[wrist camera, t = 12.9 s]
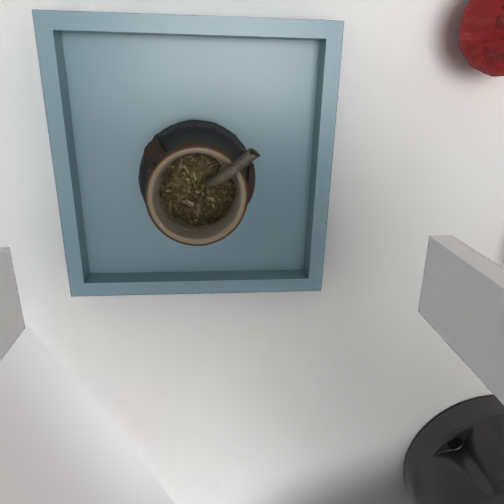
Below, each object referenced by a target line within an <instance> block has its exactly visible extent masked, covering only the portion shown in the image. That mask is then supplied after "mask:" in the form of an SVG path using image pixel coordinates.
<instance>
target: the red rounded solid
mask: <svg viewBox="0 0 504 504" xmlns="http://www.w3.org/2000/svg"><path fill="white" fill-rule="evenodd" d="M459 42H460V49H461V51H462V53H463V55H464V56H465V58H466V60H467V61H468V63H469V64H470V66H471V67H473V68H475V69H477V70H479V71H481V72H483V73H485V74H487V75H490V76H504V0H470V2H469V3H468V5H467V7H466V8H465V10H464V12H463V16H462V20H461V23H460V27H459Z"/></svg>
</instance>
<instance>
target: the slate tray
mask: <svg viewBox="0 0 504 504" xmlns="http://www.w3.org/2000/svg"><path fill="white" fill-rule="evenodd" d="M32 15H33V22H34V30H35V37H36V44H37V51H38V59H39V66H40V73H41V81H42V88H43V95H44V103H45V110H46V117H47V124H48V132H49V139H50V146H51V154H52V161H53V168H54V176H55V183H56V190H57V198H58V205H59V212H60V219H61V227H62V234H63V241H64V249H65V256H66V263H67V271H68V278H69V285H70V293H71V296H114V295H157V294H200V293H243V292H287V291H321V285H322V274H323V262H324V250H325V239H326V227H327V215H328V204H329V192H330V180H331V169H332V157H333V145H334V134H335V122H336V110H337V99H338V87H339V76H340V64H341V52H342V41H343V29H344V21H336V20H308V19H281V18H253V17H225V16H197V15H170V14H142V13H114V12H86V11H59V10H32ZM190 119H191V120H203V121H210V122H214V123H216V124H218V125H221V126H223V127H225V128H226V129H228V130H229V131H231V132H232V133H233V134H235V135H236V136H237V138H238V139H239V140H240V141H241V143H242V144H243V145H244V146H245V147H246V150H248V149H249V148H253V149H255V150H256V151H257V152H258V153H260V157H258V158H257V159H255V160H254V161H253V164H254V168H255V178H256V179H255V187H254V193H253V196H252V198H251V201H250V203H249V204H248V205H247V209H246V212H245V214H244V217H243V219H242V221H241V222H240V224H239V225H238V226H237V228H236V229H235V230H234V231H233V232H232V233H231V234H229V235H228V236H227V237H226V238H224V239H222V240H220V241H218V242H216V243H213V244H209V245H206V246H196V247H195V246H191V245H185V244H181V243H179V242H176V241H174V240H171V239H170V238H168V237H166V236H165V235H164V234H163V233H162V232H161V231H159V230H158V228H157V227H156V226H155V225H154V223H153V222H152V220H151V218H150V217H149V214H148V212H147V208H146V204H145V202H144V199H143V197H142V194H141V192H140V185H139V183H138V182H139V180H138V176H139V167H140V163H141V159H142V157H143V153H144V148H145V147H146V146H147V144H148V143H149V142H150V141H152V139H153V137H154V136H155V135H156V134H158V133H160V132H161V131H162V130H163V129H165V128H167V127H169V126H171V125H173V124H176V123H178V122H182V121H186V120H190Z"/></svg>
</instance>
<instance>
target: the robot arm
mask: <svg viewBox="0 0 504 504" xmlns="http://www.w3.org/2000/svg"><path fill="white" fill-rule="evenodd" d="M418 312H419V313H420V314H421V315H422V316H423V317H424V318H425V320H426V321H427V322H428V323H429V324H430V325H431V326H432V327H433V328H434V329H435V331H436V332H437V333H438V334H439V335H440V336H441V337H442V338H443V339H444V340H445V341H446V343H447V344H448V345H449V346H450V347H451V348H452V349H453V350H454V351H455V352H456V354H457V355H458V356H459V357H460V358H461V359H462V360H463V361H464V362H465V363H466V365H467V366H468V367H469V368H470V369H471V370H472V371H473V372H474V373H475V374H476V376H477V377H478V378H479V379H480V380H481V381H482V382H483V383H484V384H485V385H486V386H487V388H488V389H489V390H490V391H491V392H492V393H493V394H494V395H495V396H488V397H482V398H477V399H473V400H470V401H467V402H464V403H461V404H459V405H457V406H454V407H452V408H451V409H449V410H447V411H445V412H444V413H442V414H441V415H439V416H438V417H436V418H435V419H434V420H432V421H431V422H430V423H429V424H428V425H427V426H426V427H425V428H424V429H423V430H422V431H421V432H420V433H419V435H418V436H417V437H416V439H415V440H414V442H413V443H412V445H411V447H410V449H409V451H408V453H407V456H406V460H405V465H404V478H405V482H406V485H407V488H408V490H409V492H410V494H411V496H412V498H413V500H414V502H415V504H504V268H502V267H501V266H499V265H497V264H496V263H494V262H493V261H491V260H490V259H488V258H486V257H485V256H483V255H482V254H480V253H479V252H477V251H475V250H474V249H472V248H471V247H469V246H468V245H466V244H464V243H463V242H461V241H460V240H458V239H457V238H455V237H453V236H429V242H428V248H427V255H426V262H425V268H424V275H423V282H422V288H421V295H420V302H419V309H418ZM24 329H25V324H24V319H23V314H22V309H21V304H20V299H19V294H18V289H17V284H16V279H15V274H14V269H13V263H12V258H11V253H10V248H9V247H8V248H0V361H1V360H2V359H3V357H4V356H5V355H6V353H7V352H8V351H9V349H10V348H11V346H12V345H13V344H14V342H15V341H16V340H17V338H18V337H19V336H20V334H21V333H22V331H23V330H24Z"/></svg>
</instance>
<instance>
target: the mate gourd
mask: <svg viewBox="0 0 504 504" xmlns="http://www.w3.org/2000/svg"><path fill="white" fill-rule="evenodd" d="M258 157H260V153H258V152H257V151H256V150H255V149H253V148H249V149H248V150H246V147H245V146H244V145H243V144H242V143H241V141H240V140H239V139H238V138H237V136H236V135H235V134H233V133H232V132H231V131H229V130H228V129H226V128H225V127H223V126H221V125H218V124H216V123H214V122H210V121H203V120H191V119H190V120H186V121H182V122H178V123H176V124H173V125H171V126H169V127H167V128H165V129H163V130H162V131H161V132H160V133H158V134H156V135H155V136H154V137H153V139H152V141H150V142H149V143H148V144H147V146H146V147H145V148H144V153H143V157H142V159H141V163H140V167H139V176H138V180H139V182H138V183H139V185H140V192H141V194H142V197H143V199H144V202H145V204H146V208H147V212H148V214H149V217H150V218H151V220H152V222H153V223H154V225H155V226H156V227H157V228H158V230H159V231H161V232H162V233H163V234H164V235H165V236H166V237H168V238H170V239H171V240H174V241H176V242H179V243H181V244H185V245H191V246H195V247H196V246H206V245H209V244H213V243H216V242H218V241H220V240H222V239H224V238H226V237H227V236H228V235H229V234H231V233H232V232H233V231H234V230H235V229H236V228H237V226H238V225H239V224H240V222H241V221H242V219H243V217H244V214H245V212H246V209H247V205H248V204H249V203H250V201H251V198H252V196H253V193H254V187H255V179H256V178H255V168H254V164H253V161H254V160H255V159H257V158H258Z"/></svg>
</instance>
